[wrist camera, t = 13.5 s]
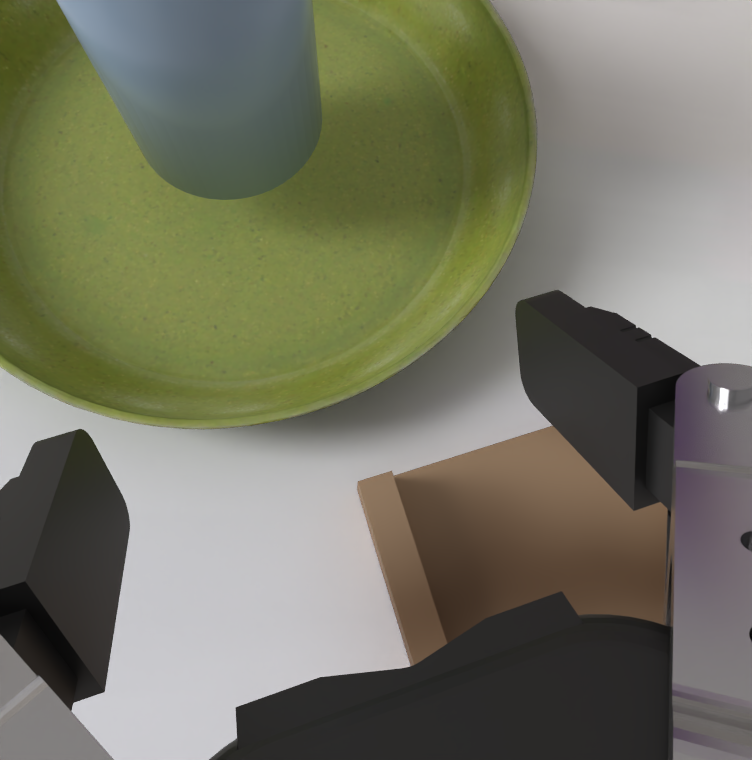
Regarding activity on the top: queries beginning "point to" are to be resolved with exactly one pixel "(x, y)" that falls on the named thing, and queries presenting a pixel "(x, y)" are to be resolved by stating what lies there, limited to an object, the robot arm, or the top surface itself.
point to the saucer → (259, 223)
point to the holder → (510, 539)
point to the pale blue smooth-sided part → (209, 86)
